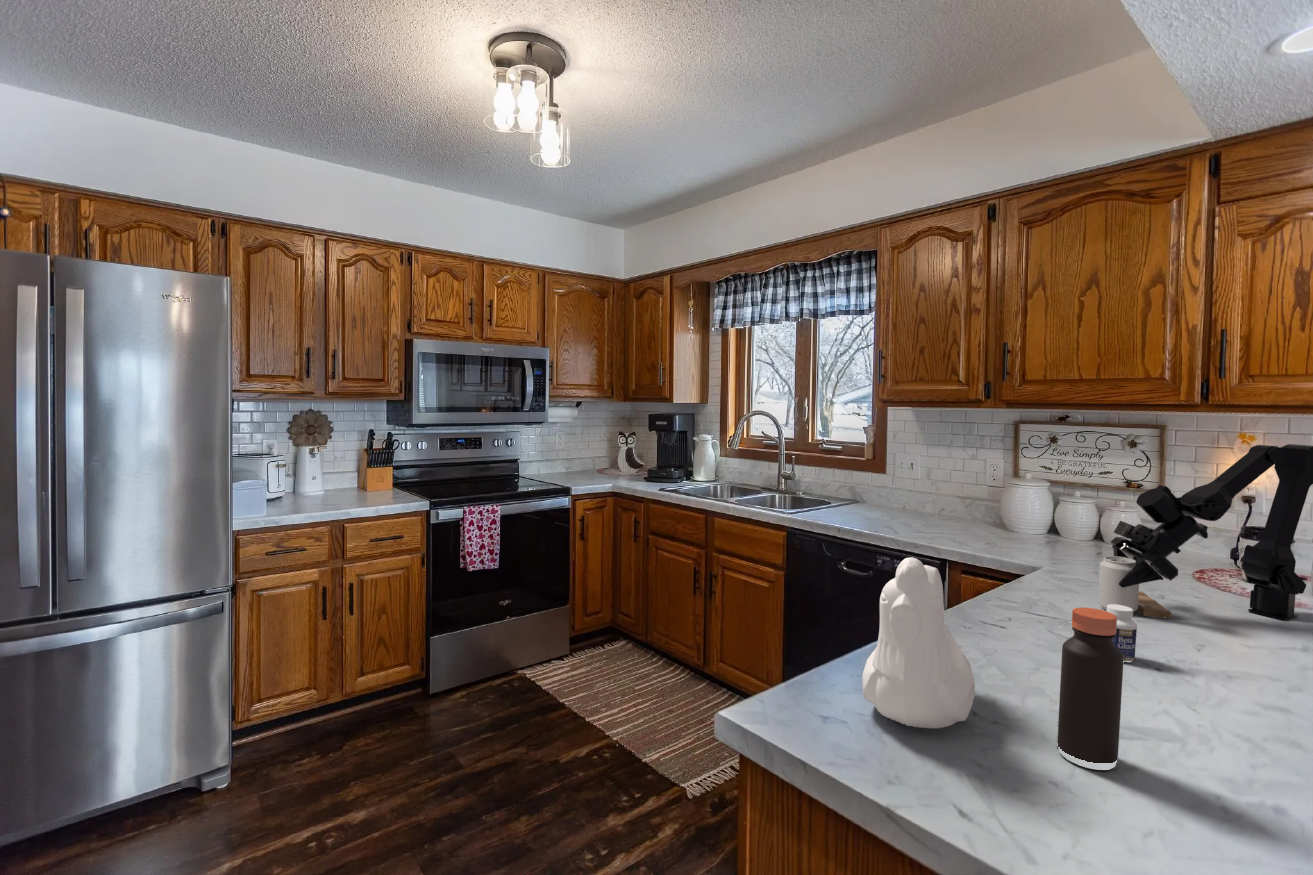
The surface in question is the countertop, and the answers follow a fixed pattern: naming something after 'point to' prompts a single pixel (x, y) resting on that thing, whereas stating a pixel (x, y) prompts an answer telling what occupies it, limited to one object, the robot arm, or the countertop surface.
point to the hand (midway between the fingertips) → (1111, 580)
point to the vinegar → (1091, 688)
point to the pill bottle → (1124, 630)
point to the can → (1116, 583)
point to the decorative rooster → (917, 654)
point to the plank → (1151, 607)
